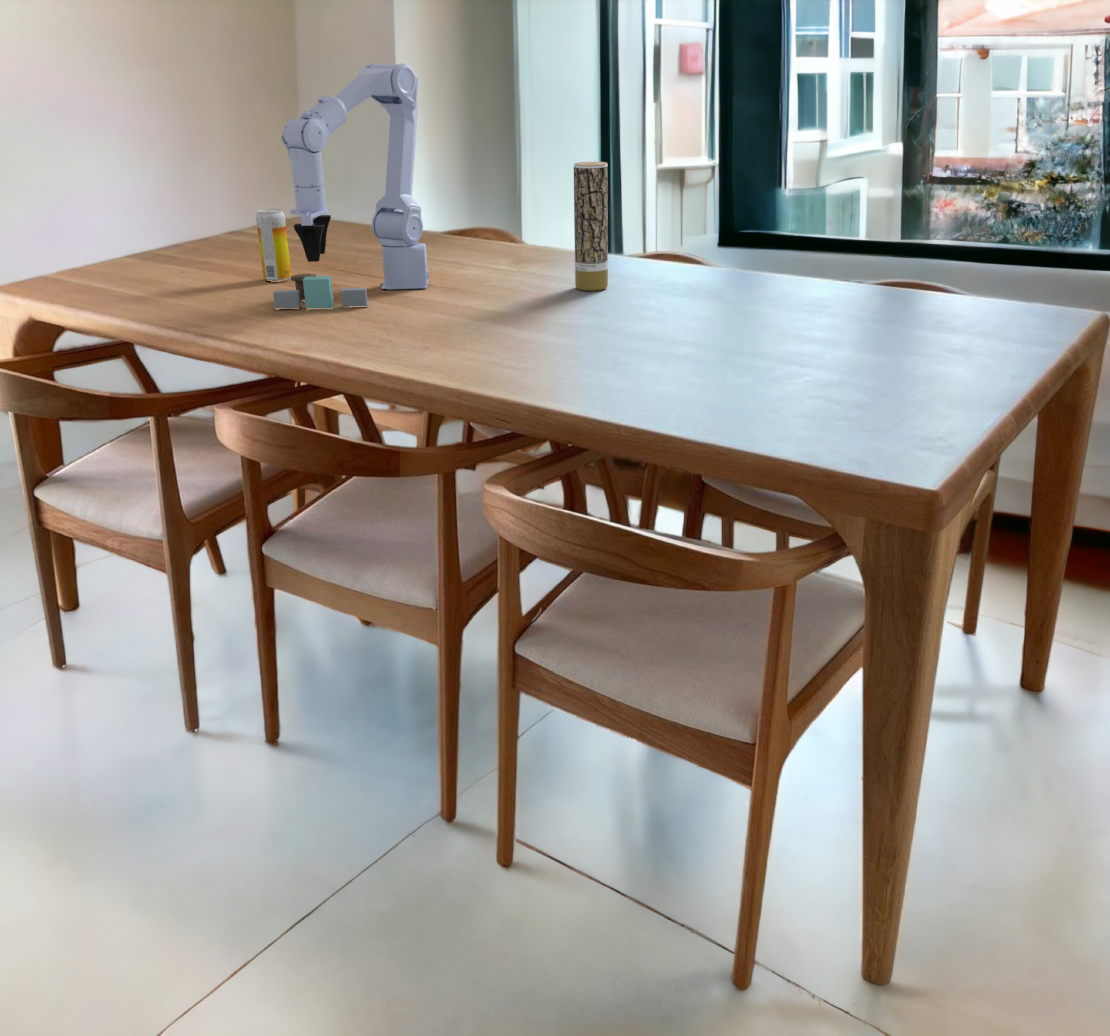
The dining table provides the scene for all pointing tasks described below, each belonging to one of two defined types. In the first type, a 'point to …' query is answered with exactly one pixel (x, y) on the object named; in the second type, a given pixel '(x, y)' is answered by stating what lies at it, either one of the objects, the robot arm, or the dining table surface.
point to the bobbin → (300, 283)
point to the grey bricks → (293, 301)
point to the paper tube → (591, 225)
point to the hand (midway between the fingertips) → (316, 257)
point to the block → (318, 292)
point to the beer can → (273, 244)
